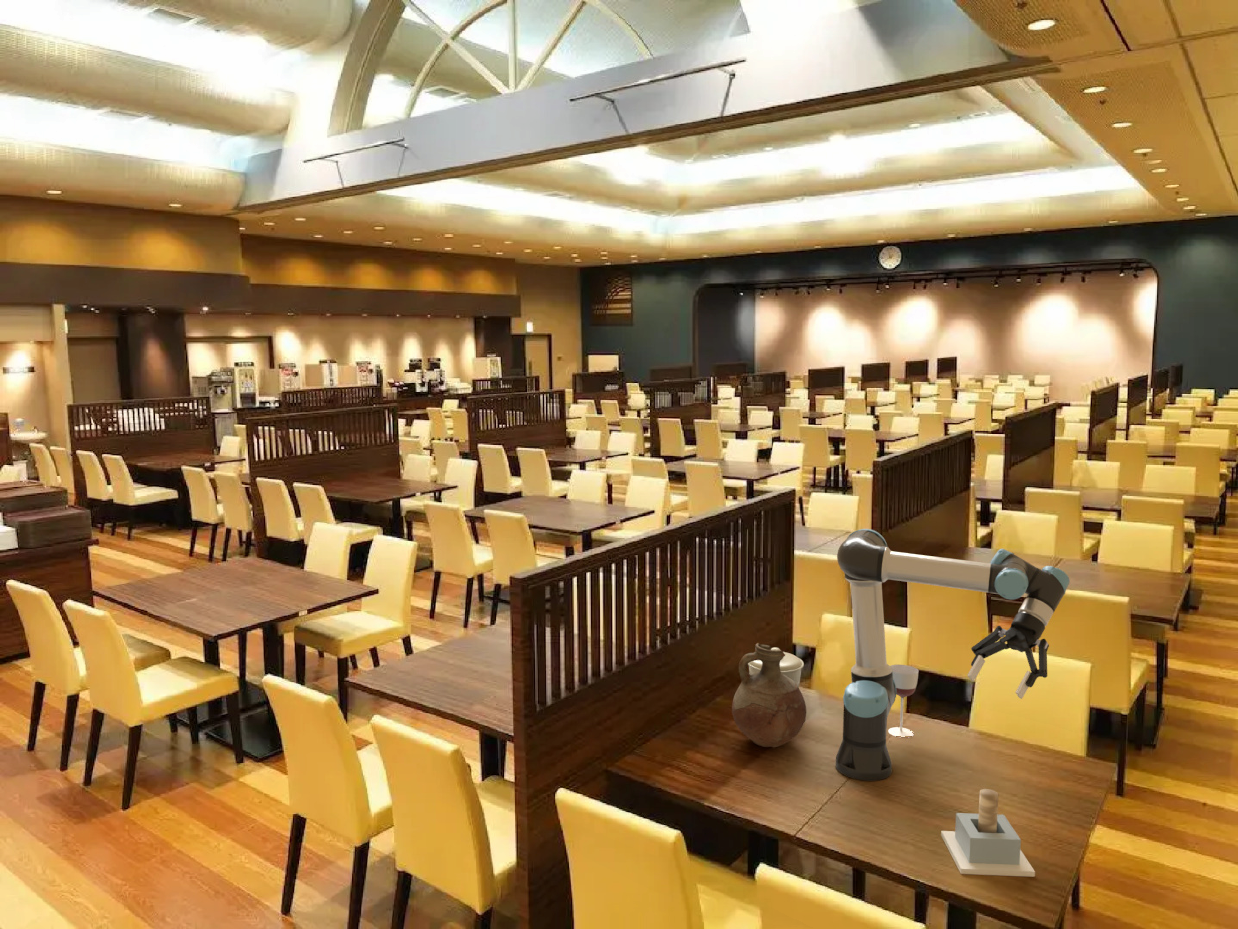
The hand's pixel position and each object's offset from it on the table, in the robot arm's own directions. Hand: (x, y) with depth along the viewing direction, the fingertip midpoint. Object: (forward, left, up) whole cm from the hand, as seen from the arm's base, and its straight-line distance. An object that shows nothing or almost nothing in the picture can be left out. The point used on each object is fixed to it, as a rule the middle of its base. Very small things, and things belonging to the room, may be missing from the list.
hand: (993, 687), depth 230 cm
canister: (-50, +55, -31) cm, 80 cm away
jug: (-54, +31, -31) cm, 69 cm away
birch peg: (-9, -26, -30) cm, 40 cm away
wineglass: (-13, +41, -31) cm, 53 cm away
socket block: (-9, -26, -31) cm, 41 cm away
